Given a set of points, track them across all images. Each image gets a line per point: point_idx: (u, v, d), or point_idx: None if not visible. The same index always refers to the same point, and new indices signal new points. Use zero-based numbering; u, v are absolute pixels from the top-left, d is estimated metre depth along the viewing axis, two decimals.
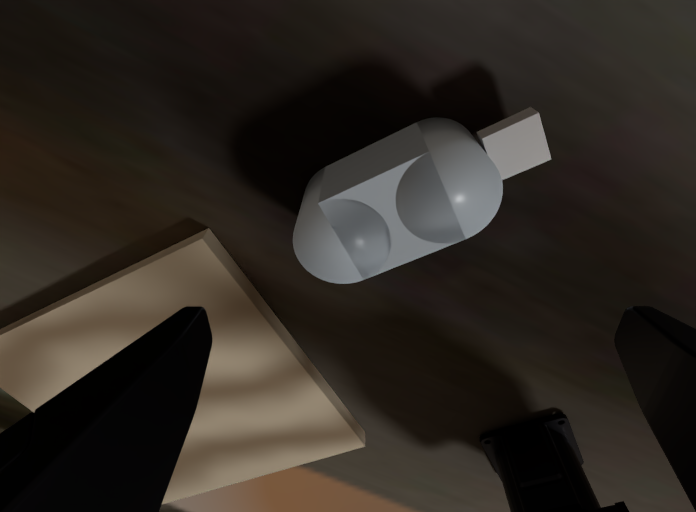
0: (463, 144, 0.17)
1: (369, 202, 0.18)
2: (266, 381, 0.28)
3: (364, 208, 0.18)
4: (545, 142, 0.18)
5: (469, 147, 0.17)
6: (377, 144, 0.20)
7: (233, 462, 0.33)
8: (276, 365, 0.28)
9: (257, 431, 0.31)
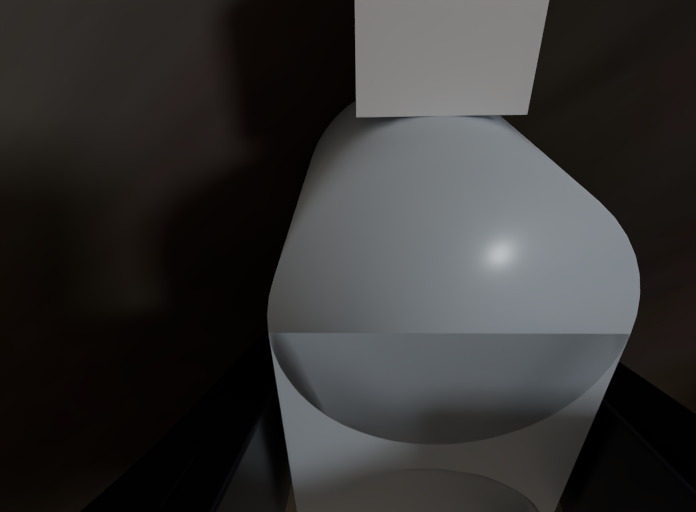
0: (296, 229, 0.05)
1: (347, 477, 0.07)
2: None
3: (359, 487, 0.07)
4: None
5: (306, 223, 0.05)
6: None
7: None
8: None
9: None
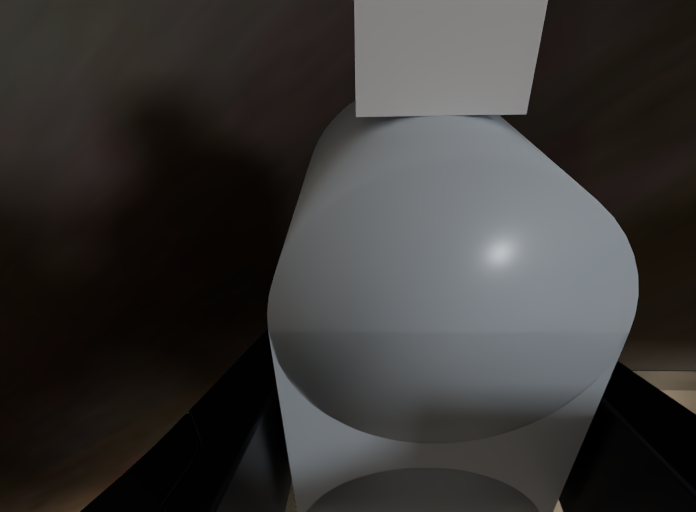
0: (296, 228, 0.05)
1: (347, 476, 0.07)
2: None
3: (359, 486, 0.07)
4: None
5: (306, 221, 0.05)
6: None
7: None
8: None
9: None
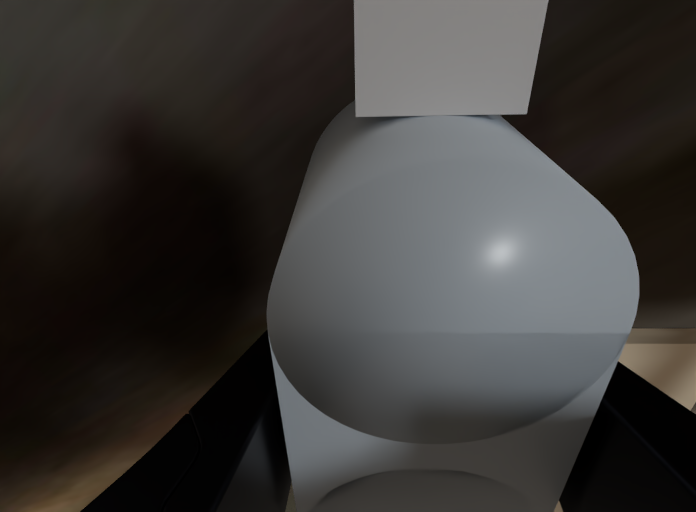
0: (295, 229, 0.05)
1: (347, 477, 0.07)
2: None
3: (358, 488, 0.07)
4: None
5: (306, 221, 0.05)
6: None
7: None
8: None
9: None
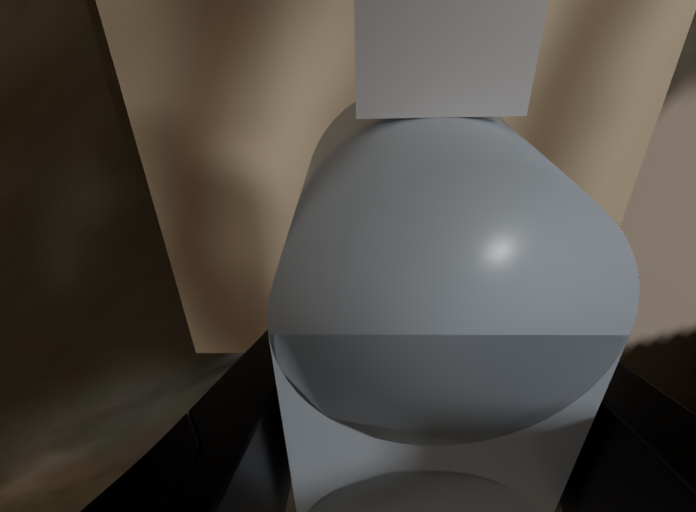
0: (296, 231, 0.05)
1: (347, 478, 0.07)
2: None
3: (359, 488, 0.07)
4: None
5: (307, 225, 0.05)
6: None
7: (574, 177, 0.17)
8: None
9: None
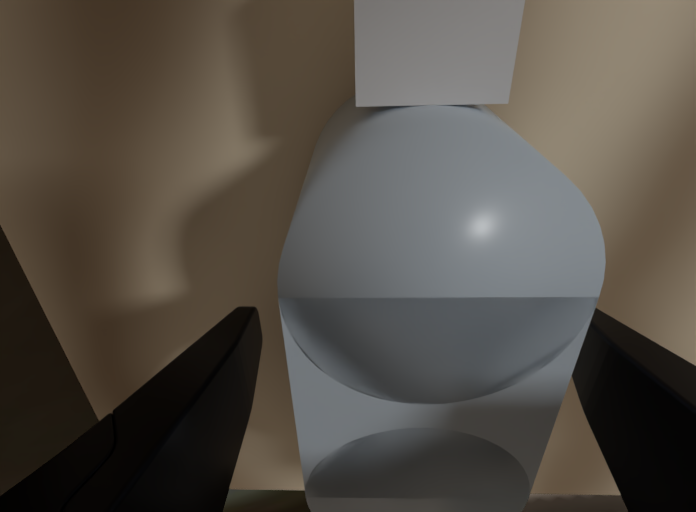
0: (303, 204, 0.05)
1: (348, 436, 0.07)
2: None
3: (359, 447, 0.08)
4: None
5: (312, 196, 0.05)
6: None
7: None
8: None
9: (652, 128, 0.09)
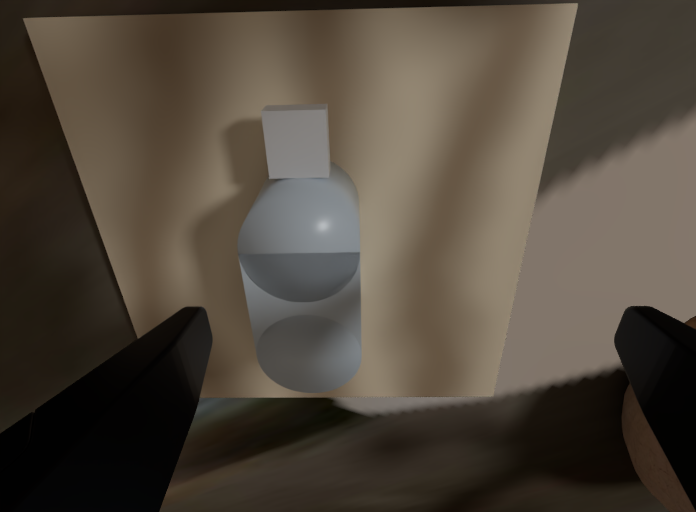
0: (246, 217, 0.15)
1: (272, 320, 0.17)
2: (322, 94, 0.17)
3: (278, 326, 0.17)
4: (300, 111, 0.14)
5: (248, 215, 0.15)
6: None
7: (471, 255, 0.20)
8: (294, 56, 0.16)
9: (424, 178, 0.18)
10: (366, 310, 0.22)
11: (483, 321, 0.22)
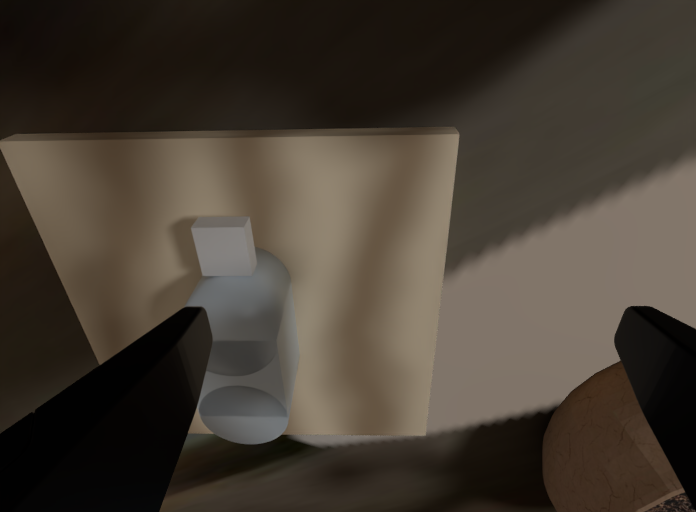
0: None
1: (210, 389, 0.20)
2: (251, 199, 0.20)
3: (215, 393, 0.20)
4: (223, 228, 0.17)
5: None
6: None
7: (392, 323, 0.23)
8: (225, 171, 0.19)
9: (345, 263, 0.21)
10: (306, 365, 0.25)
11: (409, 375, 0.25)
